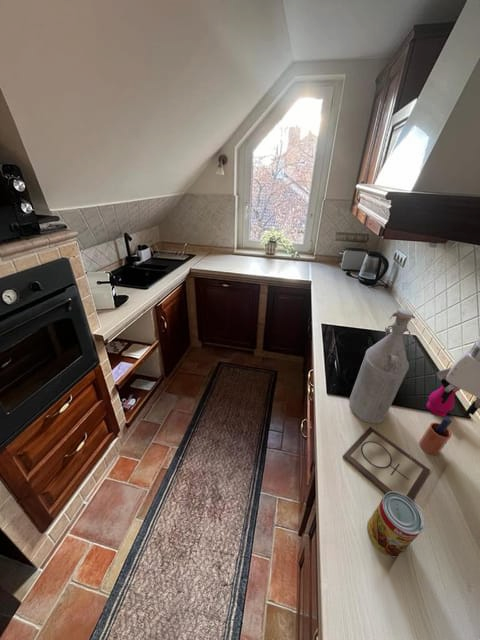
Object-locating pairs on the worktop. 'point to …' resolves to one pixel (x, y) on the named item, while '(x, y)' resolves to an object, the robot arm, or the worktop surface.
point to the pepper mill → (435, 402)
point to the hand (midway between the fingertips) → (455, 406)
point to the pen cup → (434, 440)
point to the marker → (443, 426)
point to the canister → (382, 372)
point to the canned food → (395, 523)
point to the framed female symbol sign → (386, 464)
